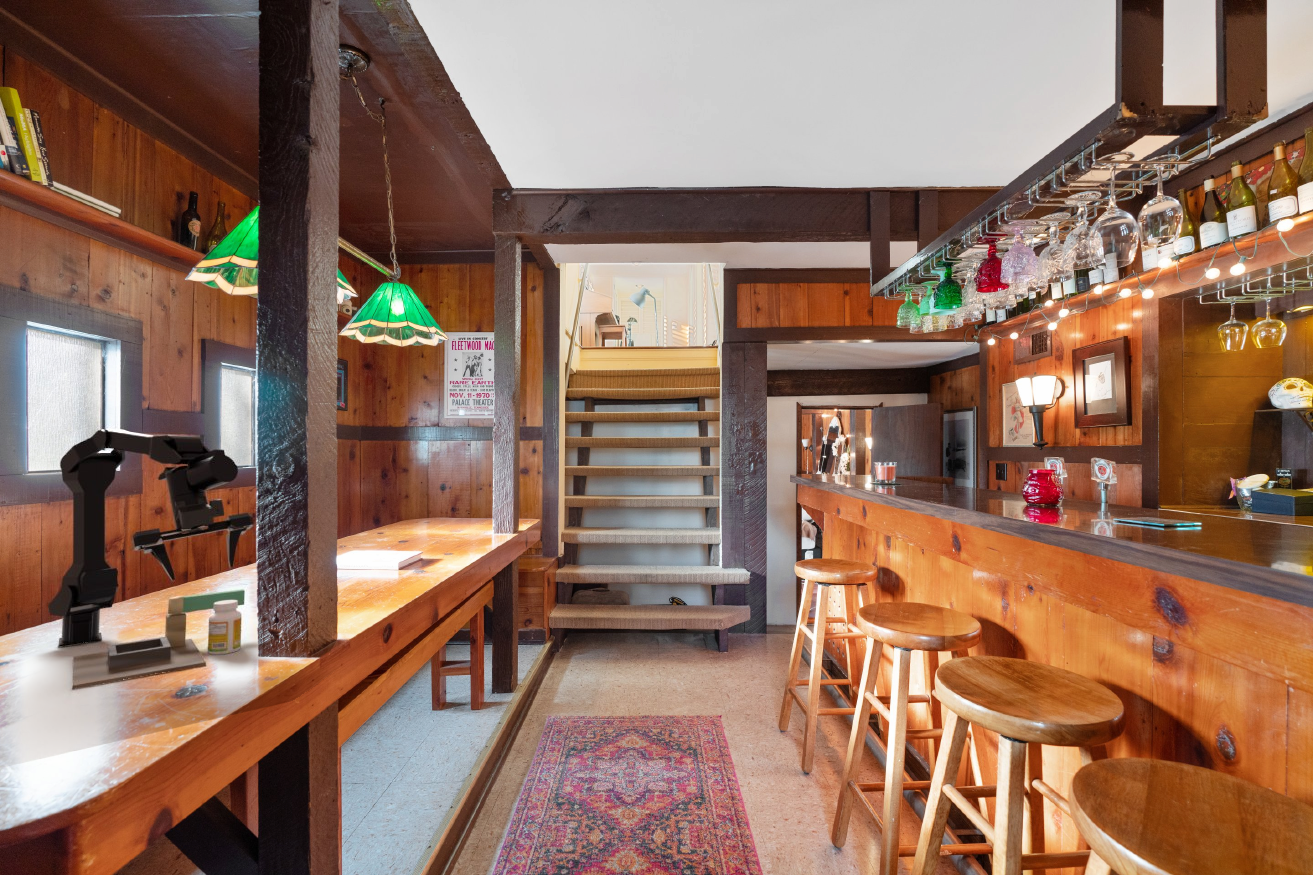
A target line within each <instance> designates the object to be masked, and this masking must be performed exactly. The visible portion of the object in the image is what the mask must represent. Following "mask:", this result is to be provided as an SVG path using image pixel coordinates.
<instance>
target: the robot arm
mask: <svg viewBox="0 0 1313 875" xmlns="http://www.w3.org/2000/svg"><path fill="white" fill-rule="evenodd" d="M104 449H112V450H111V451H109V450H104ZM126 452H129V453H130V452H131V453H136V454H143V455H146V456H149V459H150V460H153V461H155V462H157V463H160V464H163V465H180V466H166V467H164V470H163V471H162V472H161V473H159V476H158V477H157V479H158V481H166V483H167V489H168V494H169V500H170V506H171V510H172V517H173V521H174V526H175V529H171V530H167V531H166V530H165V531H160V528H159V527H156V528H152V529H146V530H142V531H136V532H135V533H134V534H133V535H132V536H131V537H132V538H131V541H132V547H133V551H142V550H143V551H142V552H143V554H151V555H152V556H153V557H154V558H155V559H156V560H157V562H158V563H159V564H160V566H161V567H162V568H163V569H164V571H165V572H166V573H165V574H167V575H168V577H169V579H170V580H171V582H175V580H176V578H175V577H176V576H175V572H174V568H173V566H172V563H171V560H170V558H169V555H168V551H167V548H166V545H165V544H166V543H163V542H168V541H173V540H177V539H182V538H183V539H184V538H189V537H194V536H199V535H205V534H210V533H215V532H216V533H217V532H221V531H225V530H226V531H227V532H228V533H227V534H226V535H225V539H226V541H225V542H226V552H227V562H228V566H229V569H233V568H234V561H235V557H236V550H237V545H238V542H239V540H240V537H241V536H242V535H244V534H245V533H246V532H247V531H248V530H250V529H251V528H253V526H254V525H255V522H254V519H253V515H252V514H251V513H249V512H243V513H238V514H232V515H228V516H227V517H226V518H225V519H224V520H222V521H215V518H219V517H224V516H225V508H224V504H223V499H222V498H217V499H212V500H211V499H210V500H209V501H208V497H207V491H208V490H211V489H213V488H217V487H220V486H223V485H225V484H228V483H230V482H232V481H235V479H236V478H237V476H238V473H239V469H238V465H237V464H236V463H235V461H234V460H233V459H232V458H231V457H230V456H228V455H226V453H225V449H215V448H214V449H212V450H211V449H209V448H208V447H207V446H206V445H205V444H204V443H203V442H202V439H201V437H200V436H197V435H183V434H182V435H181V434H158V435H157V434H156V435H155V434H154V435H152V434H147V433H139V432H132V431H128V430H126V429H115V428H102V429H99V430H97V431H95V433H94V434H93V435H92V436H91V437H89V438H87V439H84V440H82V441H80V442H78V443H76V444H74V445H73V446H72V447H71V448H70V449H69V450H68V451H67V452H66V453H65V454H64V455H63V456H62V457H61V459H60V461H59V466H60V467H59V468H60V470H61V476H62V477H61V478H62V482H64V484H65V485H66V487H68V489H69V490H70V491H71V493H72V496H73V499H72V502H73V503H72V504H73V505H72V507H73V508H72V509H73V510H72V512H73V513H72V515H73V516H72V518H73V519H72V521H73V522H72V523H73V524H72V526H73V527H72V528H73V529H72V533H73V534H72V541H73V542H72V547H73V548H72V549H73V550H72V564H71V566H70V567H69V569H68V570H67V571H66V572H65V574H64V575H63V576H62V578H61V580H62V581H61V588H60V590H59V591H58V593H56V595H55V596H54V597H53V598H52V600H51V601H50V602H49V603H48V612H49V615H50V616H56V617H62V619H61V620H62V621H61V623H62V624H61V637H59V638H58V646H57V647H59V648H61V647H66V646H67V647H68V646H74V645H75V646H77V645H81V644H88V643H96V642H101V641H102V638H103V637H102V635H103V634H102V632H100V619H101V616H100V614H101V610H102V609H111V608H112V607H113V605H114V600H115V598H116V596H117V591H118V588H119V582H118V575H119V570H118V569H117V567H112V566H110V564H109V563H108V562H107V560H106V491H108V489H109V487H110V486H111V485H112V484H113V482H114V481H115V479H116V475H117V474H116V472H117V469H118V468H119V467H120V466H121V464H123V463H124V462H125V460H126ZM214 521H215V522H214ZM204 527H205V528H204Z"/></svg>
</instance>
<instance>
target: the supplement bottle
mask: <svg viewBox="0 0 1313 875" xmlns="http://www.w3.org/2000/svg"><path fill="white" fill-rule="evenodd" d="M238 607H239V605H238V601H237V600H224V601H218V602H215V603H214V606H213V609H212V610H213V611H214V613H212V614H210V615H209V617H208V633H207V634H208V635H207V636H208V637H207V639H208V640H207V643H208V644H207V653H208V654H210V655H213V656H214V655H215V656H216V655H219V656H220V655H226V654H231V653H234V652H237V651H239V650H240V649H241V647H242V646H241V644H242V638H241V637H242V613H241V611H239V610H238Z"/></svg>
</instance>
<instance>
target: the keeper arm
mask: <svg viewBox="0 0 1313 875" xmlns="http://www.w3.org/2000/svg"><path fill="white" fill-rule="evenodd" d="M245 594H246V593H245V589H244V588H243V589H235V590H228V591H227V590H226V591H217V592H216V591H215V592H210V593H200V594H192V595H183V596H182V595H181V596H172V597H169V598H168V600H167V601H168V603H167V604H168V605H167V608H168V609H167V614H180V613H184V612H185V613H191V612H198V611H206V610H214V609H213V606H214V603H215V602H218V601H224V600H237V601H238V606H244V605H245Z"/></svg>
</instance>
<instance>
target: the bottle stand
mask: <svg viewBox="0 0 1313 875" xmlns="http://www.w3.org/2000/svg"><path fill="white" fill-rule="evenodd" d="M186 630H187V614H186V612H184V613H180V614H168V613H167V614H165V630H164V634H165V635H164V636H162V637H155V638H148V639H141V640H135V641H127V642H122V643H113V644H108V645H107V650H106V651H101V652H96V653H89V654H84V655H76V656H73V658H72V661H73V663H72V690H76V689H81V688H87V687H91V686H98V685H102V684H103V683H105V684H109V682H110V683H114V682H113V681H116V682H120V681H119V680H121V681H124V680H123V679H127V680H129V679H128V678H132V679H136V678H135V677H138V678H141V677H140V676H144V677H147V676H146V675H149V676H151V675H150V674H155V673H160V674H163V673H162V672H166V673H169V672H168V671H171V672H175V671H174V670H177V671H182V670H186V669H187V670H188V669H193V668H199V667H204V666H206V660H205V658H204V657H203V655H202V653H201V652H200V650H199V649H198V646H197V645H196V643H195V642H194V640H193V638H186V632H187V631H186ZM181 669H182V670H181ZM155 675H156V674H155ZM103 685H104V684H103Z"/></svg>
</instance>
